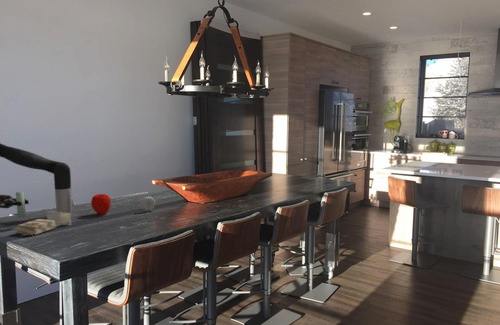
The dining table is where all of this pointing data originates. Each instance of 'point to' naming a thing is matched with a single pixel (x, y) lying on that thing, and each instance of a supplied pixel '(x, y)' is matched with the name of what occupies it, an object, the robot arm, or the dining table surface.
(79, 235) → the dining table surface
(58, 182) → the robot arm
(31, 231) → the socket block
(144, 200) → the donut
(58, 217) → the rail base
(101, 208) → the apple
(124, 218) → the dining table surface
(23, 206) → the dowel
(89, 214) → the dining table surface
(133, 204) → the dining table surface
